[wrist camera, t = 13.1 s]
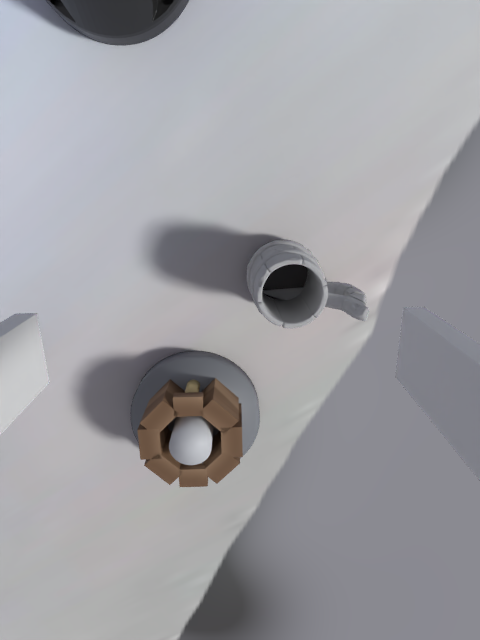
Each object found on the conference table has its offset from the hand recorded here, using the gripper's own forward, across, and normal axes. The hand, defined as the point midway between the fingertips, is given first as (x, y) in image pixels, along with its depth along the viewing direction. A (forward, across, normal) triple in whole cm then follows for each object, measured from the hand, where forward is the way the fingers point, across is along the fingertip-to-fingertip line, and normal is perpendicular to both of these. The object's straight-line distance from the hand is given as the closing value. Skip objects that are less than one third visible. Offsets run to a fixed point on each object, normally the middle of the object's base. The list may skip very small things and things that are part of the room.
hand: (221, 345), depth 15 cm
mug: (+31, +7, -4) cm, 32 cm away
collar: (+28, -5, -20) cm, 35 cm away
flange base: (+30, -5, -20) cm, 37 cm away
